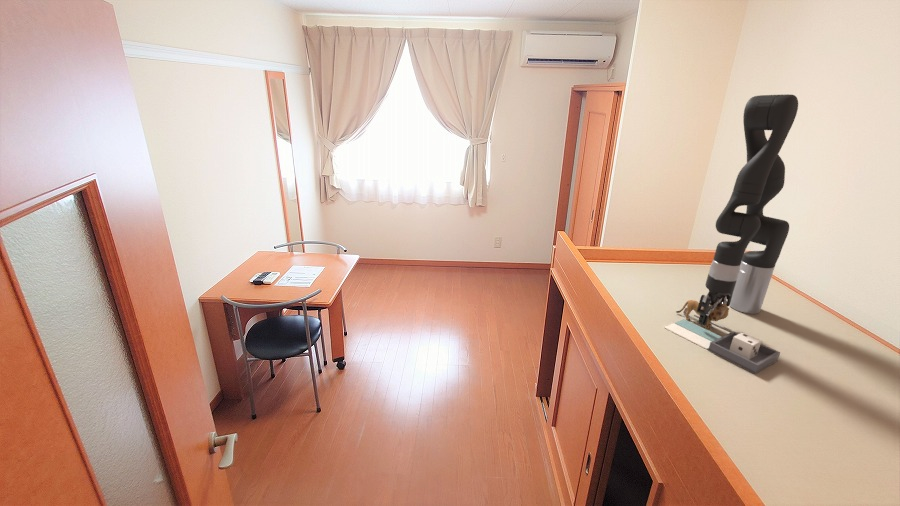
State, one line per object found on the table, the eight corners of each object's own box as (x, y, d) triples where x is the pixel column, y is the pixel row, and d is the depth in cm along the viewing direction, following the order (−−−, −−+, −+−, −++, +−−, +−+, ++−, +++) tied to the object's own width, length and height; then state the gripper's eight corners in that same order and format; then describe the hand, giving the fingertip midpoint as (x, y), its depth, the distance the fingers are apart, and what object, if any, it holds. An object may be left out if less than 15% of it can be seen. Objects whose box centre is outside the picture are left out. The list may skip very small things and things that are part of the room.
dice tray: (730, 339, 123) (733, 331, 122) (777, 360, 113) (780, 352, 112) (708, 350, 117) (710, 342, 116) (754, 374, 107) (757, 365, 106)
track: (694, 315, 137) (694, 314, 137) (737, 334, 126) (737, 333, 126) (664, 327, 129) (664, 327, 129) (706, 349, 118) (706, 348, 118)
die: (737, 346, 118) (742, 331, 117) (757, 355, 114) (762, 340, 112) (728, 351, 116) (733, 336, 114) (748, 360, 112) (753, 345, 110)
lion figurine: (726, 329, 129) (733, 304, 126) (719, 334, 126) (727, 309, 123) (678, 311, 140) (684, 288, 136) (671, 315, 136) (677, 292, 133)
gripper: (723, 267, 130) (710, 311, 135) (697, 275, 123) (685, 321, 129) (748, 275, 124) (733, 321, 129) (722, 284, 117) (708, 332, 123)
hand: (709, 321), depth 129 cm, fingers open, 8 cm apart
